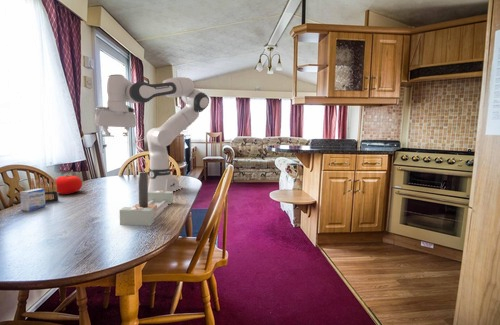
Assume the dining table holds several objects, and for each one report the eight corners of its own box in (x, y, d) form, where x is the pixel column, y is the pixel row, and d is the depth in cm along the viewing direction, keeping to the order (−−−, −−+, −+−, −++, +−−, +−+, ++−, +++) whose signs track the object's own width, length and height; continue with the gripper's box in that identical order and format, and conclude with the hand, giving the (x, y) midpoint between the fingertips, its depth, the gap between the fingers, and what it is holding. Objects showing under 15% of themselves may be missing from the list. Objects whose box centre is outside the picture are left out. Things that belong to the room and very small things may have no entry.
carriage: (136, 208, 117) (136, 170, 115) (157, 209, 118) (156, 171, 116) (129, 214, 109) (128, 173, 107) (150, 214, 110) (150, 174, 108)
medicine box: (28, 211, 117) (27, 192, 116) (20, 210, 118) (19, 191, 117) (45, 206, 125) (44, 188, 124) (38, 205, 126) (37, 187, 125)
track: (150, 201, 139) (150, 189, 138) (173, 202, 139) (173, 190, 138) (119, 224, 105) (119, 209, 104) (150, 225, 105) (149, 209, 104)
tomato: (61, 190, 156) (60, 173, 155) (85, 190, 159) (85, 173, 158) (49, 196, 142) (48, 177, 141) (76, 195, 145) (75, 177, 144)
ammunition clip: (31, 203, 129) (29, 179, 127) (31, 202, 130) (30, 178, 129) (57, 201, 134) (56, 178, 133) (58, 200, 136) (57, 177, 134)
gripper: (99, 105, 120) (100, 136, 121) (137, 109, 138) (138, 136, 139) (91, 106, 123) (92, 135, 124) (129, 110, 141) (130, 135, 142)
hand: (116, 136), depth 132 cm, fingers open, 8 cm apart
